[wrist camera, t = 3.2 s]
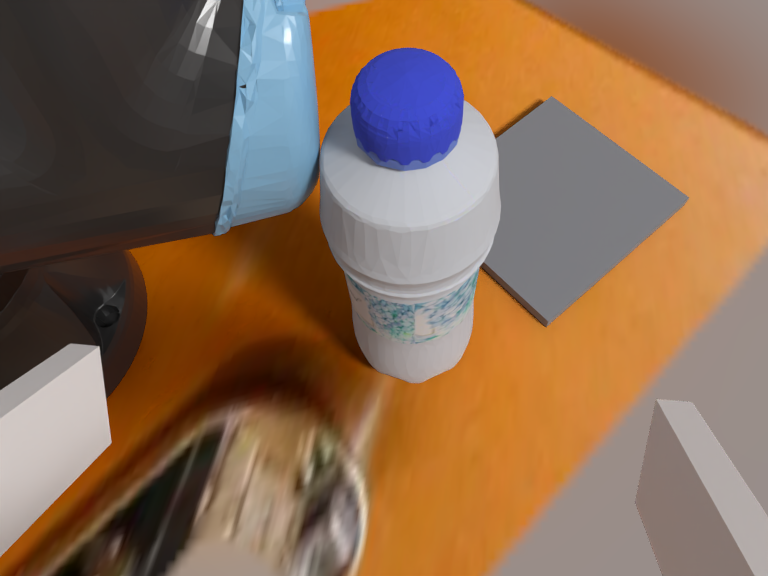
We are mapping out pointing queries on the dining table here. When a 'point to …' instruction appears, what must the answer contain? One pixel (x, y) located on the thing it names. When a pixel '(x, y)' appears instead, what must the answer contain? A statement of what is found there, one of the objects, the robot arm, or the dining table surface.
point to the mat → (569, 209)
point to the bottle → (410, 210)
